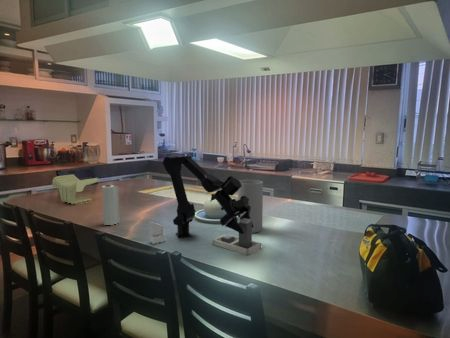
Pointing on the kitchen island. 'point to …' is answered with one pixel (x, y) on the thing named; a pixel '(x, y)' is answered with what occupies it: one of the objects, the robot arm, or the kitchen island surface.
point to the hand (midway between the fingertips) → (248, 230)
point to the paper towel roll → (110, 204)
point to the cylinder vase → (253, 201)
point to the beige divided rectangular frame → (235, 244)
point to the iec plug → (245, 233)
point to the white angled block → (156, 233)
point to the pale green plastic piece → (71, 187)
